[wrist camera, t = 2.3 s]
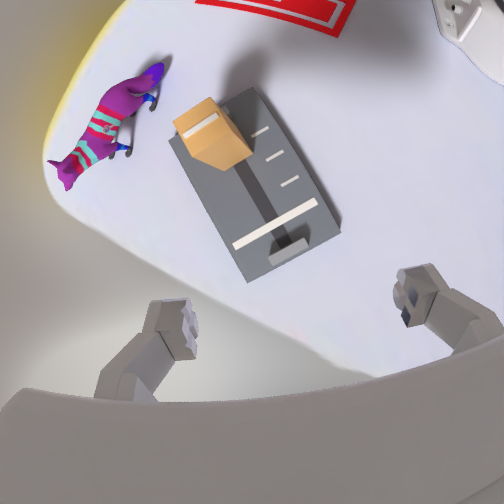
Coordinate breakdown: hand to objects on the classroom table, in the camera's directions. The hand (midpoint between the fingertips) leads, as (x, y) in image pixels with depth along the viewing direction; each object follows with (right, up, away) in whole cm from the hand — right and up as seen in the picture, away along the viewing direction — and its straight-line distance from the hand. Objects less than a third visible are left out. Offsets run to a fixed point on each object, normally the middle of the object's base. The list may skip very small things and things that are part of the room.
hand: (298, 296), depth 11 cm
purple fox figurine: (-17, +17, +22) cm, 32 cm away
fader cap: (-4, +12, +19) cm, 23 cm away
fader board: (-2, +9, +20) cm, 22 cm away
